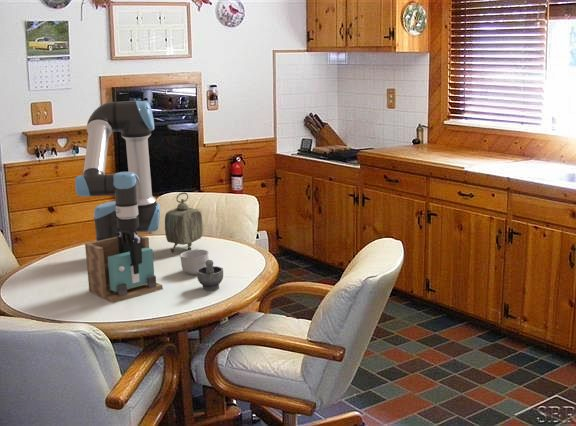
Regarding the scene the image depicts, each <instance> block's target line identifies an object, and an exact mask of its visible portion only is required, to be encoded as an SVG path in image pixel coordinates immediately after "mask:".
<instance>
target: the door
mask: <svg viewBox="0 0 576 426" xmlns="http://www.w3.org/2000/svg"><path fill="white" fill-rule="evenodd" d="M130 264H132V263H131V257H130V252H125V253H121V254H117V255H113V256H109V257H108V268H109V280H110V290H112V291H115V292H117V291H118V287H117V285H121V284H124V283H125V284H126V285H127V289H128V288H132V287H135V286H139V285H143V284H146V283H147V277H150V276H155V267H154V254H153V248H151V247H149V248H142V263H141V264H139V265H138V266H139V281H140V282H136V283H132V279H131V266H130Z"/></svg>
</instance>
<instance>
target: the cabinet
mask: <svg viewBox="0 0 576 426" xmlns="http://www.w3.org/2000/svg"><path fill="white" fill-rule="evenodd" d="M137 236H138V237H142V243H141V245H142V248H150V241H149V237H148V236H146V235H142V234H138V233H137ZM131 244H132V243H131ZM84 246H85V247H84V249H85V256H86V257H85V258H86V269H87V271H86V272H87V280H88V290H89V291H88V292H89V293H91V294H93V295H95V296H97V297H100V298H102V299H104V300H106V301H109V302H111V303H112V304H115V303H118V302H122V301H125V300H129V299H133V298H136V297H140V296H143V295H147V294H149V293H154V292H156V291H160V290H163V289H164V288H163V284H160V283H158V282H157V276H156V275H154V276H150V277H147V283H146V284H143V285H139V286H135V287H132V288H128V289H127V285H126V284H125V283H124V284H121V285H117V287H118V291H117V292H115V291H112V290H110V280H109V268H108V257H109V256H113V255H117V254H119V246H118V238H117V237H113V238H109V239H104V240H100V241H91V242H87V243H84Z"/></svg>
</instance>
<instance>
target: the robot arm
mask: <svg viewBox="0 0 576 426" xmlns="http://www.w3.org/2000/svg"><path fill="white" fill-rule="evenodd" d="M154 130H155V120H154V114H153V110H152V107H151V104H150V103H149V102H148V101H146V100H127V101H125V100H124V101H108V102H105V103H103V104H101V105H99V106H98V107H97V108H96V109H95V110H94V111H93V112H92V113H91V115H90V116H89V118H88V120H87V124H86V132H87V134H88V135H87V143H86V151H85V157H84V166H83V173H82V174H81V175H77V176H76V177H75V179H74V187H75V192H76V195H77V196H78V197H86V198H87V197H89V198H90V197H102V196H114V200H113V201H112V200H111V201H107V202H104V203H100V204H98V205H97V206H95V208H94V209H93V210H94V211H93V219H94V229H95V239H96V241H100V240H104V239H109V238H113V237H117V238H118V246H119V254H121V253H125V252H130V257H131V263H132V264H130V266H131V279H132V283H136V282H140V281H139V266H138V265H139V264H141V263H142V245H141V243H142V237H138V236H137V234H138V233H151V232H156V231H158V230H159V227H160V218H161V217H160V216H161V204H160V203H159V202H157V198H156V197H154V196H153V191H152V190H153V189H152V176H151V167H150V165H151V164H150V154H149V140H148V139H149V138H150V137H151V135H152V131H154ZM113 132H116V133H117V132H118V133H119V132H120V134H121V138H123V139H124V140H125V145H126V158H127V168H128V169H127V170H128V171H120V172H115V173H112V174H105V173H106V167H107V166H106V165H107V155H108V147H109V138H110V137H111V135H112V133H113ZM131 243H132V244H131Z"/></svg>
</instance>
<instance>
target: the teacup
mask: <svg viewBox="0 0 576 426" xmlns="http://www.w3.org/2000/svg"><path fill="white" fill-rule="evenodd" d="M179 257H180V265H181V268H182V271H184V272H185V273H186V274H187V275H189V276H195V275H196V276H197V269H199V268H202V267H206V261H207V260H210V257H209V250H206V249H199V248H194V249H191V250H186V251H183V252H181V253H180V254H179Z"/></svg>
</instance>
